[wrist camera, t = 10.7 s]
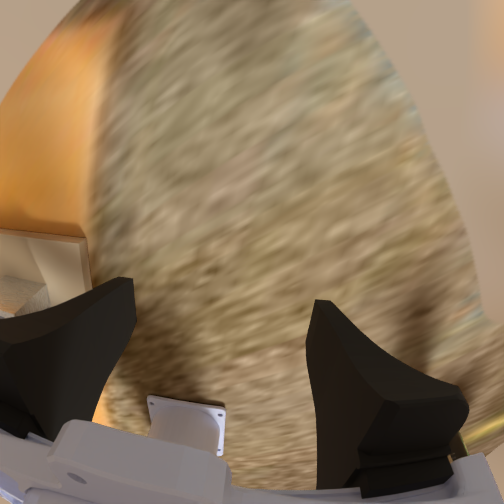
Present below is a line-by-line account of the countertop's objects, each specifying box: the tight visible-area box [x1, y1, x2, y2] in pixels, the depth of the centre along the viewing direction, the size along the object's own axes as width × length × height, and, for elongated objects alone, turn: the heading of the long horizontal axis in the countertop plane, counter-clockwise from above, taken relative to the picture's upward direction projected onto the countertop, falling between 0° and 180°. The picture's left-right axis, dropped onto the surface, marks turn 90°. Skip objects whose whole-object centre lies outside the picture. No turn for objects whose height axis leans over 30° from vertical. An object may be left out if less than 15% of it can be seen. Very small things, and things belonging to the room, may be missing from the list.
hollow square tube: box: [0, 275, 51, 318], centre depth 22 cm, size 6×6×5 cm
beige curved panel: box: [0, 228, 92, 319], centre depth 23 cm, size 14×14×5 cm
